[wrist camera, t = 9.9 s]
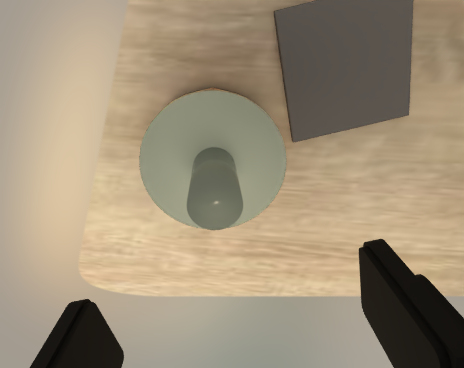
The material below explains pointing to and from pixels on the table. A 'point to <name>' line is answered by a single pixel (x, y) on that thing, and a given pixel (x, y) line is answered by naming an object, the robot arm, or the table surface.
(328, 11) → the mat
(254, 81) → the table surface
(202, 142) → the lid
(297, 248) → the table surface
